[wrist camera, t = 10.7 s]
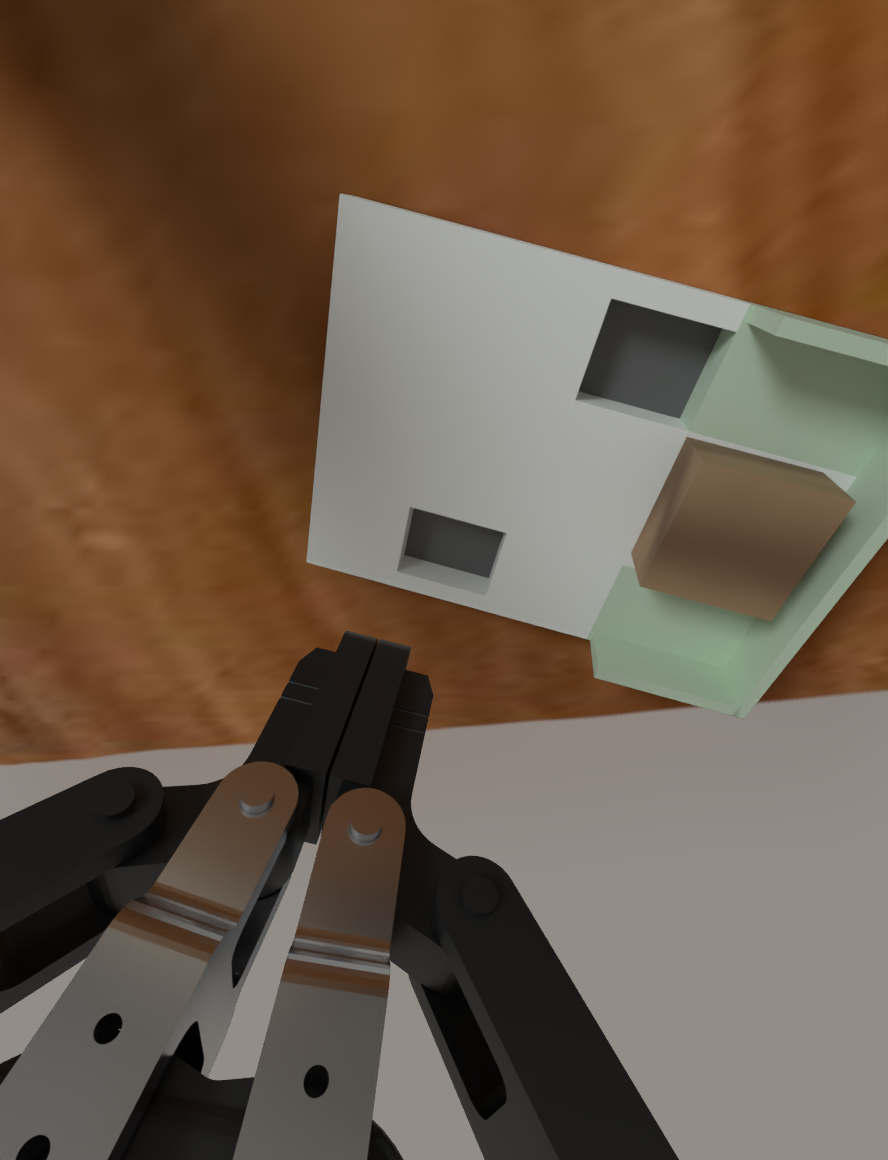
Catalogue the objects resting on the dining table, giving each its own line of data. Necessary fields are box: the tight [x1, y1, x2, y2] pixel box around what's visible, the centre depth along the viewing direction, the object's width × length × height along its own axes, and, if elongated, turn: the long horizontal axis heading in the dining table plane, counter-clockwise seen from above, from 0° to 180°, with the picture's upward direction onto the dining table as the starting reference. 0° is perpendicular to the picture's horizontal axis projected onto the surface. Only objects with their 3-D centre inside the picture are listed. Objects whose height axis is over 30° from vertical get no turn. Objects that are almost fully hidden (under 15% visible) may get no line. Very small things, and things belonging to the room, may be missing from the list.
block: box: [631, 437, 856, 621], centre depth 24 cm, size 6×6×3 cm
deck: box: [307, 194, 888, 719], centre depth 25 cm, size 17×24×5 cm
